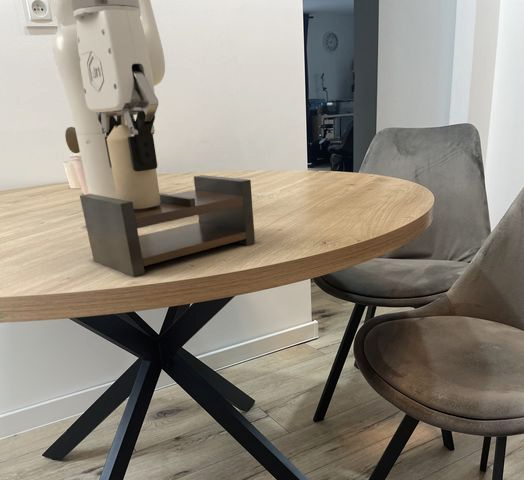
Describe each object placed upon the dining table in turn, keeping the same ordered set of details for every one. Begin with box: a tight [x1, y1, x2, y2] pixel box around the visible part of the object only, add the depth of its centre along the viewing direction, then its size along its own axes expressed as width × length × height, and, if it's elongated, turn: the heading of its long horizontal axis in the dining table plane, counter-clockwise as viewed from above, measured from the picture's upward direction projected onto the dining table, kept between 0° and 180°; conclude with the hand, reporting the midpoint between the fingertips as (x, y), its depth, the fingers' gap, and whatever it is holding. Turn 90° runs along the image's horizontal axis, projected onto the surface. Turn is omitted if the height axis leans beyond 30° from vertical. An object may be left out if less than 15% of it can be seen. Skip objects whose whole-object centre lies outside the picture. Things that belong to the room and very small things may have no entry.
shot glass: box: [62, 160, 82, 189], centre depth 145 cm, size 7×7×7 cm
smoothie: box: [69, 152, 89, 195], centre depth 130 cm, size 6×6×14 cm
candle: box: [107, 125, 161, 209], centre depth 66 cm, size 6×6×10 cm
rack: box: [79, 174, 256, 278], centre depth 72 cm, size 12×20×9 cm, turn 131°
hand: (133, 167), depth 66 cm, fingers closed on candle, 5 cm apart
